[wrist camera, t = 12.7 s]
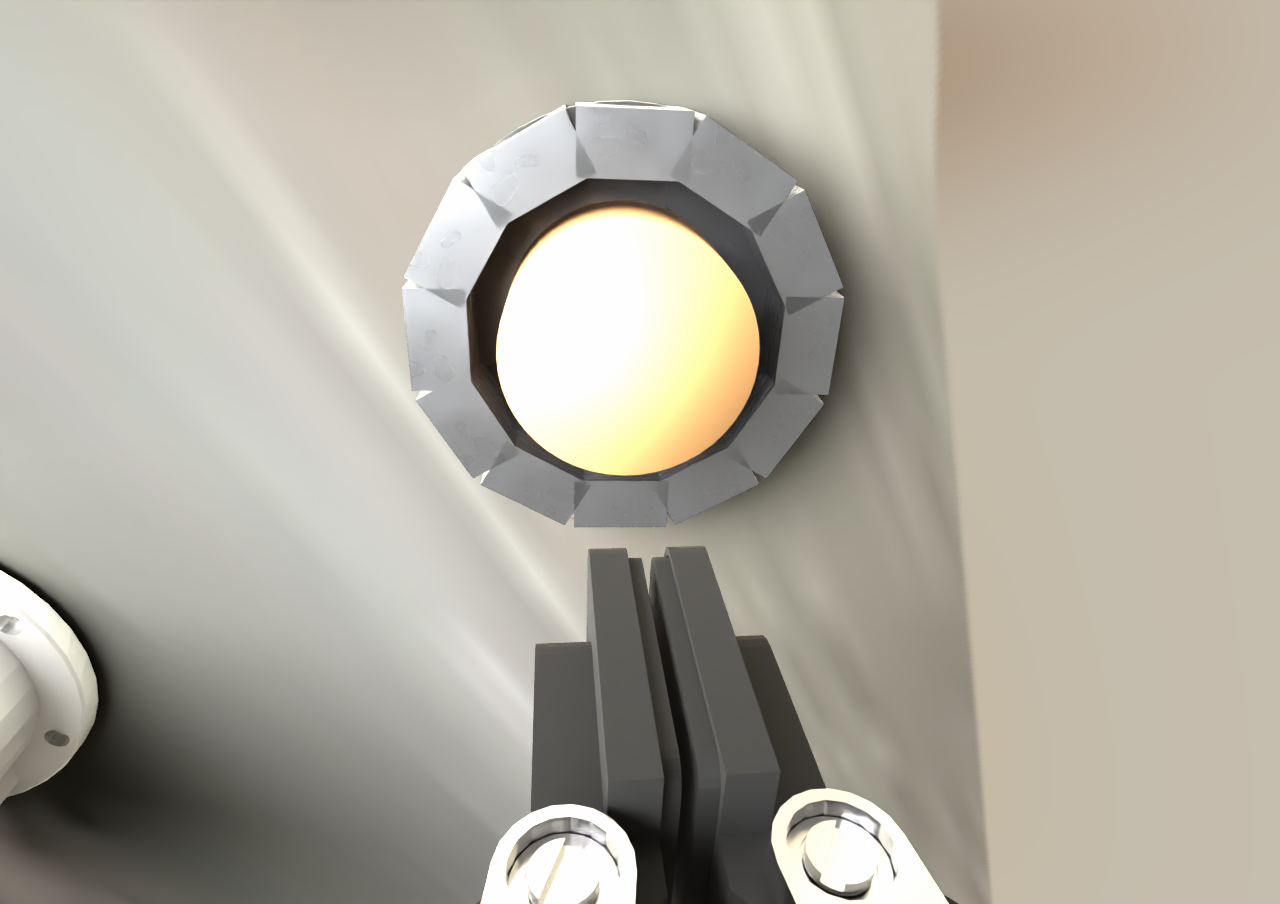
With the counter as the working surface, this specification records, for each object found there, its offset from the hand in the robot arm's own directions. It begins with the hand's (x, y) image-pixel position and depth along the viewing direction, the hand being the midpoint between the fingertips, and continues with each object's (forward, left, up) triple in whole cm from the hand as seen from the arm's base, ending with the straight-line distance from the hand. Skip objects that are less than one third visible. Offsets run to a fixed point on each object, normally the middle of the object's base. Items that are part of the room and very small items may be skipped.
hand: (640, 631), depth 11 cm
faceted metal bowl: (0, -1, -15) cm, 15 cm away
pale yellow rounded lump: (0, 0, -14) cm, 14 cm away
